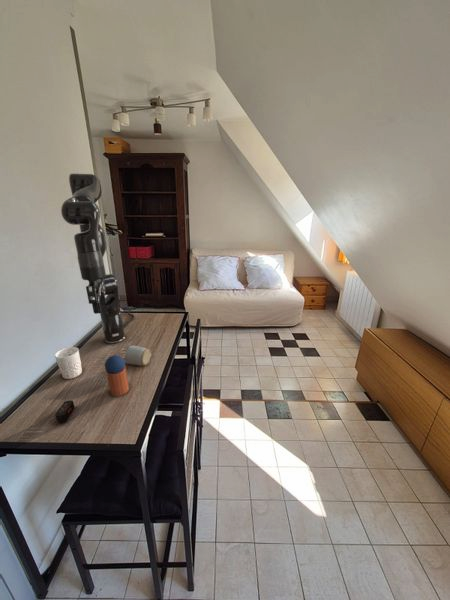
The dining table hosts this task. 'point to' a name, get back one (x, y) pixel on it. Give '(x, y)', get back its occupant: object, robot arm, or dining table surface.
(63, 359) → the white cup
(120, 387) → the cup
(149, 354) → the ceramic mug
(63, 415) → the wireless earbuds
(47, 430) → the dining table surface
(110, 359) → the ball
